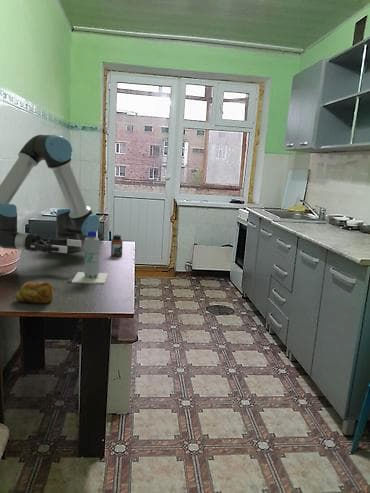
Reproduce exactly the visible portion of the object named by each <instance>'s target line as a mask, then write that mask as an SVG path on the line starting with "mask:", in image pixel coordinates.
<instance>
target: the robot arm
mask: <svg viewBox="0 0 370 493" xmlns="http://www.w3.org/2000/svg"><path fill="white" fill-rule="evenodd" d="M72 153H73V146H72V144H71V142H70V141H69V140H68V139H67V138H66V137H65V136H62V135H59V134H37V135H35V136H32V137H31V138H30V139H29V140H27V142H26V143H25V144H24V145H23V146H22V148H21V149H20V151H19V152H18V154H17V155H18V158H17V160H16V161H15V162H14V164H13V165H12V167H11V169H9V171H8V173H7V174H6V176H5V177H4V179H3V180H2V181H1V183H0V248H1V249H2V248H3V249H7V250H8V249H9V250H10V249H11V250H21V251H22V252H25V251H28V252H29V251H30V252H37V251H39V252H43V253H45V254H46V253H48V254H49V255H50V254H52V252H53V253H62V254H67V253H76V252H80V251H82V240H81V239H80V237H79V235H83V236H88V232H89V231H95V232H96V233H97V232H98V230H99V229H100V228H99V227H100V225H101V221H100V220H101V219H100V217H99V215H97V214H96V213H93V211H92V209H91V206H90V205H87V203H86V202H85V199H84V196H83V193H82V191H81V189H80V186H79V184H78V182H77V178H76V176H75V174H74V171H73V168H72V166H71V162H72ZM41 161H45V164H46V166H47V168H48V169H51V170H52V172H53V174H54V176H55V179H56V181H57V183H58V186H59V188H60V190H61V192H62V196H63V197H64V200H65V202H66V205H67V207H68V208H58V209H57V210H56V215H55V217H56V218H55V223H56V235H55V237H46V238H45V237H43V238H41V236H40V235H39V234H38V233H28V232H18V210H17V209H18V208H17V205H15V204H11V201H12V200H13V198H14V197H15V196H16V194H17V192H18V191H19V189H20V188H21V187H22V185H23V183H24V182H25V180H26V179H27V178H28V176H29V174H30V172H31V171H32V170H33V168H35V167H37V166H38V164H39V163H40V162H41Z"/></svg>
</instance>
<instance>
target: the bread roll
mask: <svg viewBox="0 0 370 493" xmlns="http://www.w3.org/2000/svg"><path fill="white" fill-rule="evenodd" d="M14 297H15V299H16V301H18V302H20V303H31V304H36V305H41V304H47V303H49V302H50V301H52V300H53V297H54V289H53V285H52V284H51V282H49V281H48V282H47V281H46V282H45V281H39V282H36V283H35V282H32V281H27V282H25V283H24V284H23V285H21V287H20V290H18V291H17V292H16V293H15V296H14Z"/></svg>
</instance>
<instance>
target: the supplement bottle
mask: <svg viewBox="0 0 370 493" xmlns="http://www.w3.org/2000/svg"><path fill="white" fill-rule="evenodd" d="M112 236H113V237H112V239H111V242H110V246H111V248H110V256H111V257H115V258H119V257H122V256H123V239H122V236H121V234H113V235H112Z"/></svg>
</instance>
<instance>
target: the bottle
mask: <svg viewBox="0 0 370 493" xmlns="http://www.w3.org/2000/svg"><path fill="white" fill-rule="evenodd" d="M100 247H101V242H100V238H99V237H97V232H95V231H89V232H88V235H87V236H86V237H85V238H84V242H83V250H84V266H83V272H84V274H85V276H86V277H88V278H89V277H90V276H92V278H94V276H95V277H97V276H98V274H99V273H100V264H99V263H100V249H101V248H100Z"/></svg>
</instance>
